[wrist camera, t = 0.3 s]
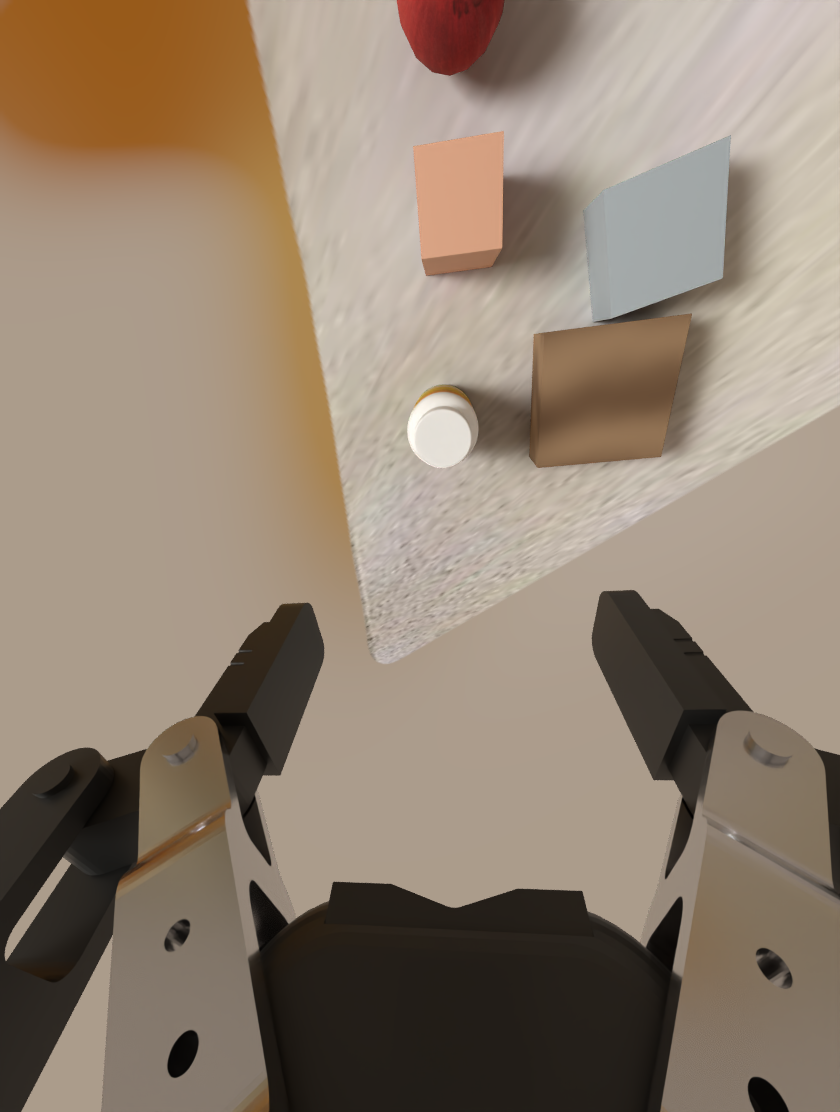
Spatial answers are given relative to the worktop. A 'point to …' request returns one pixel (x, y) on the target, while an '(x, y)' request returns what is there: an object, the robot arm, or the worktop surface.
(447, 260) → the terracotta block
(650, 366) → the walnut block
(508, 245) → the worktop surface
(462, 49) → the red oval lump
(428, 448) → the supplement bottle
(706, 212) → the slate block
